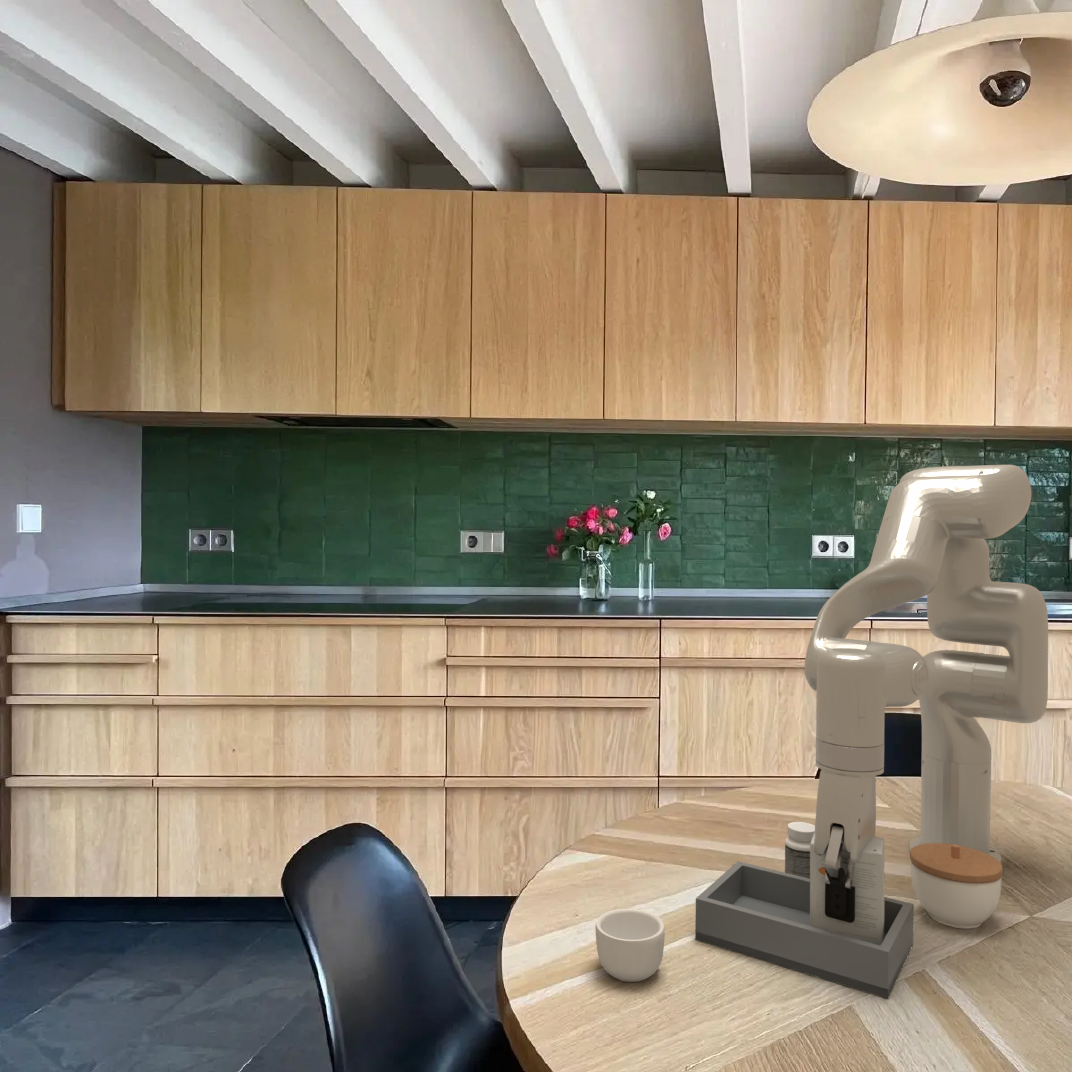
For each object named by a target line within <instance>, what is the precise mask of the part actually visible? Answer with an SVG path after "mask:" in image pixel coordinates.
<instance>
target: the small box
mask: <svg viewBox="0 0 1072 1072" xmlns="http://www.w3.org/2000/svg"><path fill="white" fill-rule="evenodd" d="M814 839H815V832H814V835H813V838H812V840H811V843H810V926H811V927H815V928H819V929H822V930H826V931H830V932H833V933H837V934H840V935H844V936H848V937H851V938H855V939H859V940H862V941H866V942H869V943H873V944H878V945H881V944H882V942H883V934H884V897H885V839H884V837H881V836H879V837H878V836H875V837H872V839H871V840H870V842H869V843H868V845H867V846H866V847H865V849H864V850H863V852H862V856H861V859H860V860H859V861H857V862H855V863H854V872H853V882H852V886H853V887H855V920H854V921H853V923H849V922H845V921H841V920H837V919H834V918H830V917H827V916H826V915H825V875H826V872H825V870H826V868H825V859H826V854H827V851H826V852H825V853H824V854H822V855H821V856H819V855H817V854H816V853H815V851H814ZM828 845H829V843H828ZM828 845H827V847H826V849H827V848H828ZM827 850H828V849H827ZM849 855H850V854H849V853H845V852H841V857H844V858H849ZM840 865H841V866H840V868H843V869H844V871H845V874H846V870H847V864H844V863H840Z"/></svg>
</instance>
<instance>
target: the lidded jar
mask: <svg viewBox="0 0 1072 1072" xmlns="http://www.w3.org/2000/svg"><path fill="white" fill-rule="evenodd" d="M909 859H910V860H909V861H910V877H911V884H912V887H913V892H914V894H915V896H916V899H917V900H918V901H919V904H920V905H921V906H922V907H923V908H924V909H925V910H926V911H927V913H928V915H930V916H931V917H932V918H933V919H932V918H931V917H930V916H929V917H930V918H931V919H932V920H934V921H935V920H936V921H935V922H937V923H939V922H940V923H939V924H941V923H942V924H941V925H943V926H944V925H945V926H947V927H950V926H951V928H955V929H961V930H962V929H963V930H971V929H976V928H979V927H980V926H982V923H983V922H986V921H987V920H988V919H989V918H990V917H991V916H992V915H994V913H995V911H996V909H997V907H998V905H999V902H1000V898H1001V893H1002V878H1003V875H1004V874H1003V871H1004V869H1003V867H1004V866H1003V865H1002V862H1001V863H1000V862H999V861H998V860H997V859H995V858H994V857H992V856H990V855H988V854H986V853H984V852H981V851H978V850H975V849H972V848H968V847H964V846H959V845H956V844H945V843H927V844H921V845H917V846H915V847H913V848H912V849H911V850H910V849H909Z"/></svg>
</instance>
